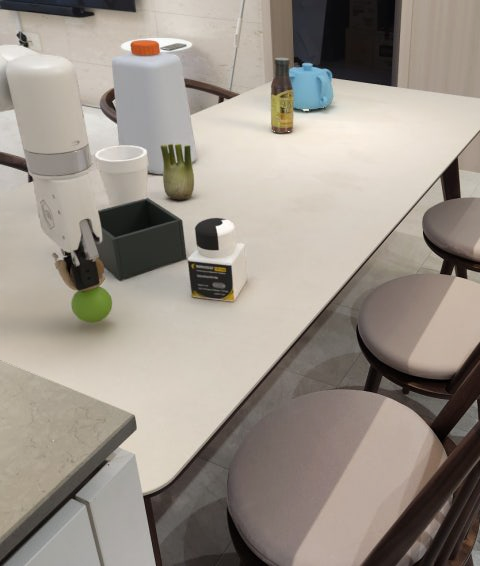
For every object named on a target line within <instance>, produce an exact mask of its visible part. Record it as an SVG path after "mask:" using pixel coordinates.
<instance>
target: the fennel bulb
mask: <svg viewBox="0 0 480 566" xmlns="http://www.w3.org/2000/svg"><path fill="white" fill-rule="evenodd" d="M168 148H169V153H168ZM168 148H167V145H161V151H162V156H163V163H164V171H163V174H162V180H163V182H162V183H163V189H164V193H165V195H166V196H167V197H169V198H171V199H173V200H180V201H181V200H182V201H184V200H187V199H189V198H191V197H192V196H193V194H194V193H193V192H194V188H195V175H194V169H193V162H191V149H190V145H184V160H185V162H184V160H183V154H182V147H181V144H175V150H176V156H177V163H176V159H175V154H174V149H173V144H168Z"/></svg>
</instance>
